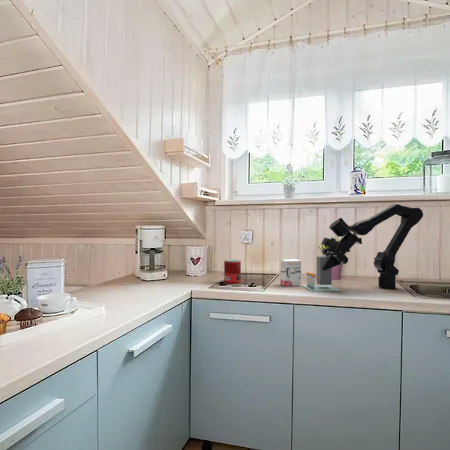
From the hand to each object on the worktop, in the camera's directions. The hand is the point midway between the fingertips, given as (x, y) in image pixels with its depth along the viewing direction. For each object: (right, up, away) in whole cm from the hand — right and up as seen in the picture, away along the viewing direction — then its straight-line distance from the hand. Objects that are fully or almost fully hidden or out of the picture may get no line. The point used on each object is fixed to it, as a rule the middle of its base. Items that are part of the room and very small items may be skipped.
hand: (321, 269), depth 156 cm
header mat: (0, -9, 0) cm, 9 cm away
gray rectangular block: (+1, -7, 0) cm, 7 cm away
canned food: (-39, -9, +15) cm, 43 cm away
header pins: (-5, -8, 0) cm, 9 cm away
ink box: (-12, -9, +8) cm, 17 cm away
